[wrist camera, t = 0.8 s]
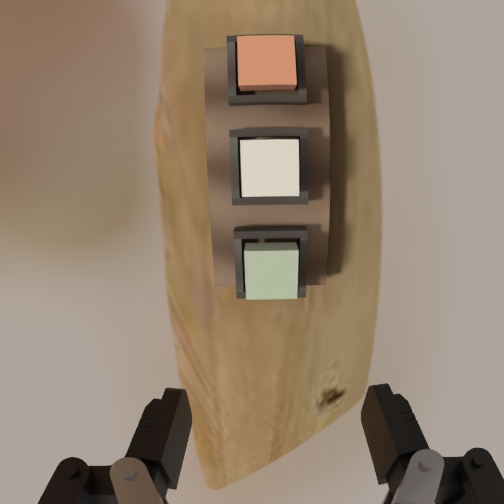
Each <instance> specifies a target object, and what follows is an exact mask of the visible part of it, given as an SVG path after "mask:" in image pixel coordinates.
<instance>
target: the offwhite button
mask: <svg viewBox="0 0 504 504" xmlns="http://www.w3.org/2000/svg"><path fill="white" fill-rule="evenodd" d="M240 152H241V181H242V197H264V196H299V139H270V140H240Z"/></svg>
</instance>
